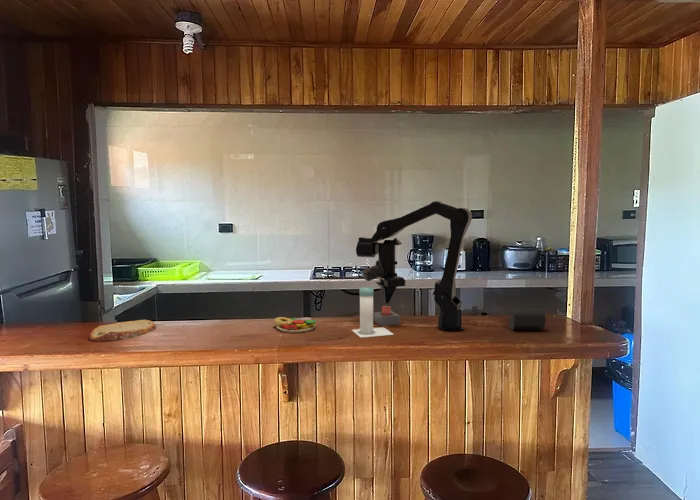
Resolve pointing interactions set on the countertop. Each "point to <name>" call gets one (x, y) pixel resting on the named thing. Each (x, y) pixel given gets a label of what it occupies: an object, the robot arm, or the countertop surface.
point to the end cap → (527, 319)
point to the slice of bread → (121, 330)
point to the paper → (374, 332)
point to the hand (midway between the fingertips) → (386, 303)
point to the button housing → (386, 318)
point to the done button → (386, 310)
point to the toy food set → (294, 324)
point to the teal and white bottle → (366, 310)
